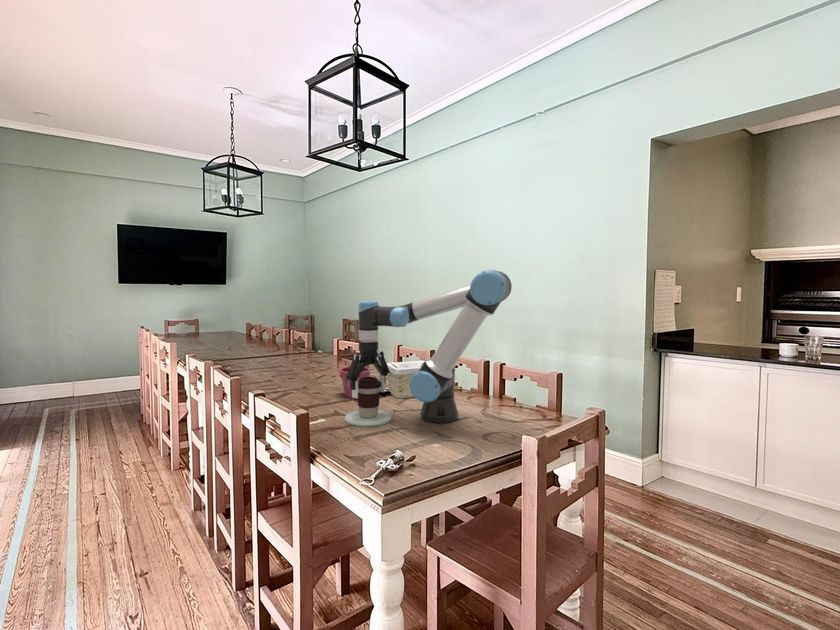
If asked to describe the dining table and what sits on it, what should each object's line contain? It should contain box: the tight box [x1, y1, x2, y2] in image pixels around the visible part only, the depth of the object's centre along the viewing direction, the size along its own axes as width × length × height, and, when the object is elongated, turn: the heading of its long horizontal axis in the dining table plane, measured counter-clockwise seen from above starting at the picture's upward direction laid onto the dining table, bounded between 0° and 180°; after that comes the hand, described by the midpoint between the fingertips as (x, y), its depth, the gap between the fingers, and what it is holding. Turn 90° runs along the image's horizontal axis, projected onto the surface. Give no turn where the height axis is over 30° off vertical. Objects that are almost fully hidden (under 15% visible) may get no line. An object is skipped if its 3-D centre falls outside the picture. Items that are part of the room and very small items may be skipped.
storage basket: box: [386, 360, 425, 400], centre depth 215 cm, size 24×16×15 cm
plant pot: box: [339, 366, 371, 399], centre depth 210 cm, size 14×14×13 cm
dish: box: [344, 409, 392, 428], centre depth 175 cm, size 18×18×1 cm
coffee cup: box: [357, 376, 381, 418], centre depth 174 cm, size 10×10×15 cm
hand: (368, 394), depth 174 cm, fingers open, 13 cm apart
